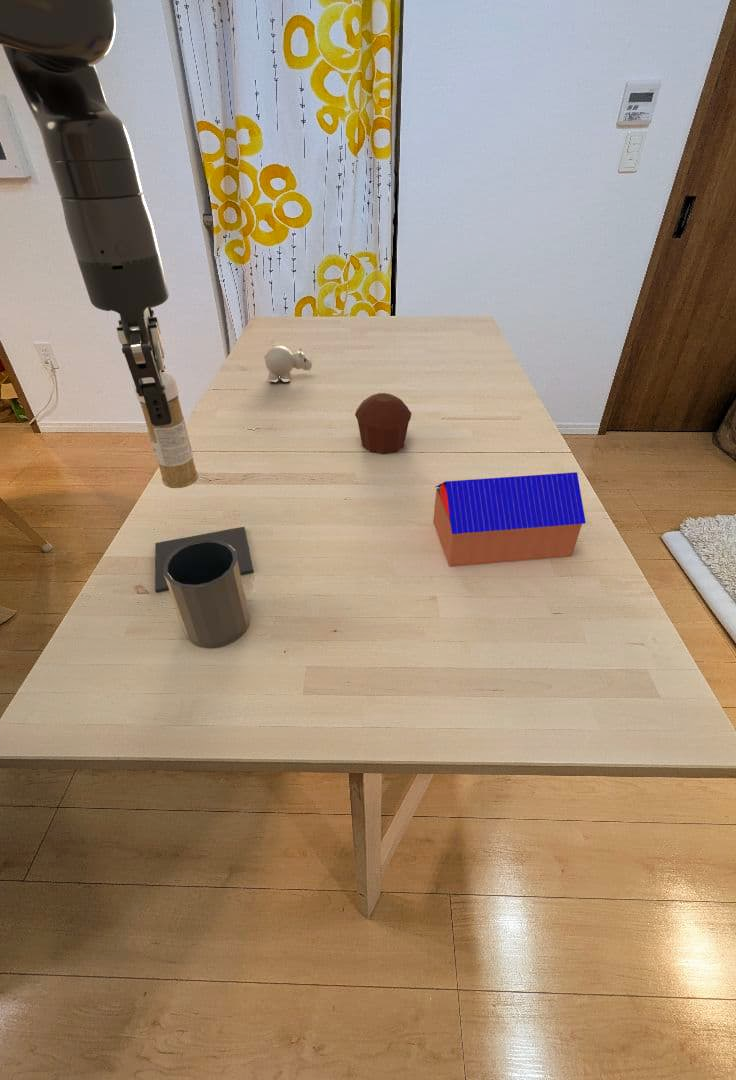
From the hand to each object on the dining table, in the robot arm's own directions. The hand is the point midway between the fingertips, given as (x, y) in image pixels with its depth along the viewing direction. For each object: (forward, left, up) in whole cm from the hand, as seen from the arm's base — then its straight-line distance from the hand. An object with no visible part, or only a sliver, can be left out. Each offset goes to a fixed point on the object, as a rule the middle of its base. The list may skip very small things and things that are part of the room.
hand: (162, 413), depth 61 cm
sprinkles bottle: (0, 0, -10) cm, 10 cm away
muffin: (+38, +30, -26) cm, 55 cm away
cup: (+1, -10, -26) cm, 28 cm away
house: (+46, -6, -26) cm, 53 cm away
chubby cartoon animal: (+26, +69, -26) cm, 78 cm away
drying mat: (0, +4, -26) cm, 26 cm away
